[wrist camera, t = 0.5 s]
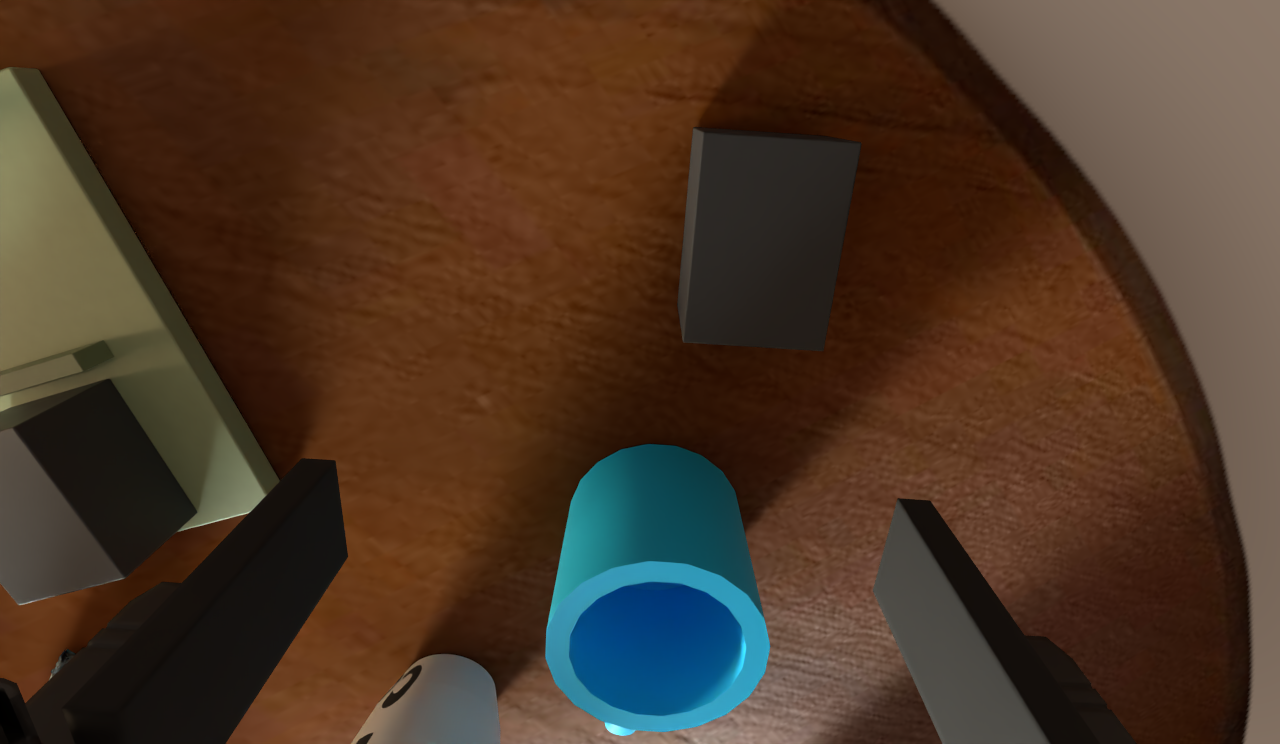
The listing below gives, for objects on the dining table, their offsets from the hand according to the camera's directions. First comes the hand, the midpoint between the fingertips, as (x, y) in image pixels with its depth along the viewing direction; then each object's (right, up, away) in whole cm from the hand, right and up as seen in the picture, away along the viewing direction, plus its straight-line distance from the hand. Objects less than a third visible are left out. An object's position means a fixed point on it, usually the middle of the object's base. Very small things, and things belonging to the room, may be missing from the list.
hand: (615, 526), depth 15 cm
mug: (+1, -5, +17) cm, 17 cm away
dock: (-25, +5, +13) cm, 28 cm away
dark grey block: (+5, +10, +10) cm, 15 cm away
